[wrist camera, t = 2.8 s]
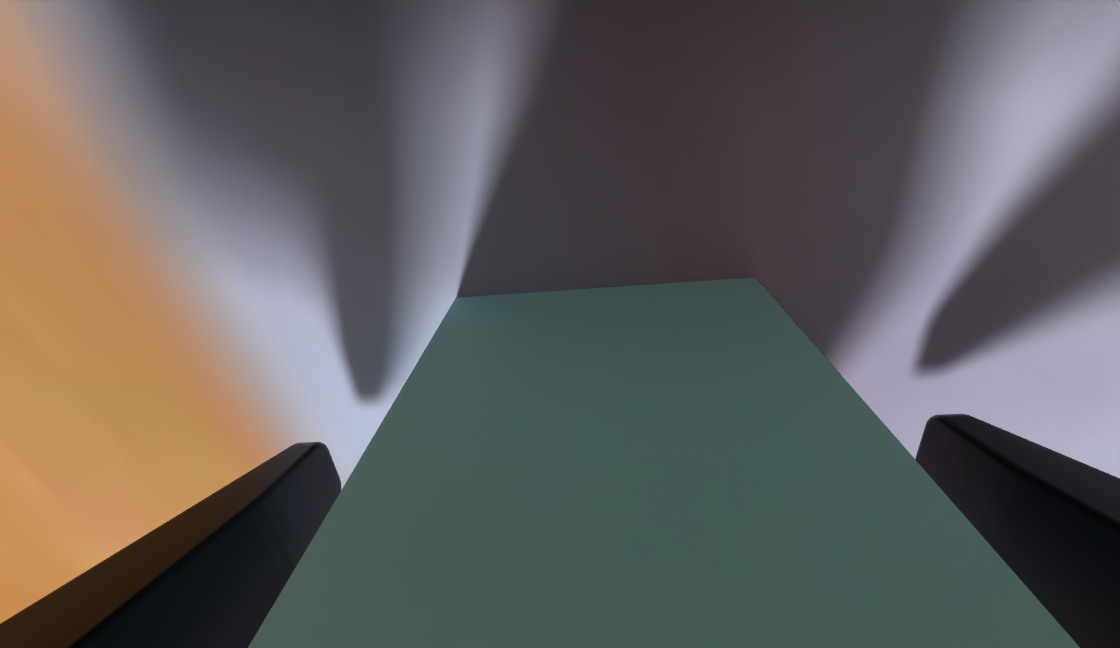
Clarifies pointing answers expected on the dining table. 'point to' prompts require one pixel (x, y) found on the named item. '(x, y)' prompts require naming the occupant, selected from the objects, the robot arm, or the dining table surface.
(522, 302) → the block
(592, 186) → the dining table surface
